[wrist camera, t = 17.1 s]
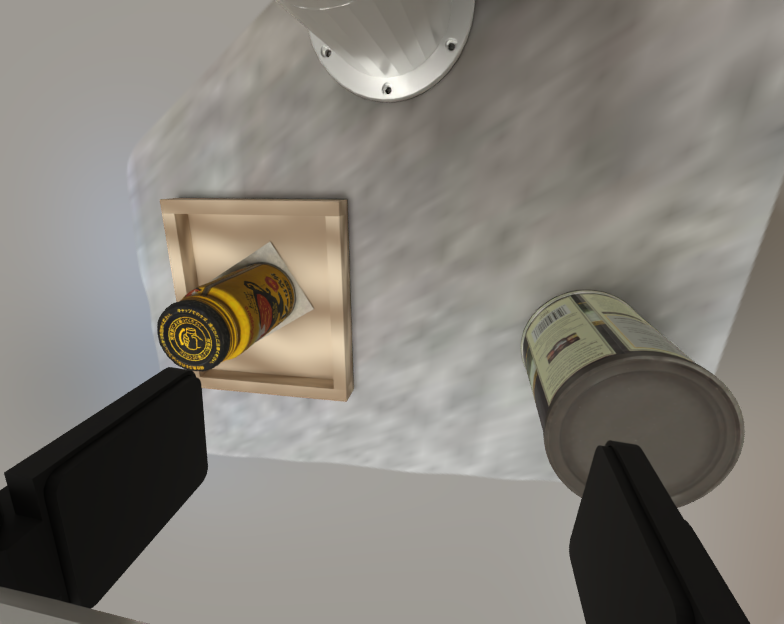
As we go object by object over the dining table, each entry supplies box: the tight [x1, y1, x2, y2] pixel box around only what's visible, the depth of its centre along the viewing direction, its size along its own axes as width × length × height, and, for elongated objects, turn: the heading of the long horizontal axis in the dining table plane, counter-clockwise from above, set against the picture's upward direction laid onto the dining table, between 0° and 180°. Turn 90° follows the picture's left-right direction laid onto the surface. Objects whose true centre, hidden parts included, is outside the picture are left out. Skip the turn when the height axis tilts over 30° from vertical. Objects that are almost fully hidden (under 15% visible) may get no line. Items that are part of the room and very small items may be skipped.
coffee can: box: [521, 290, 744, 508], centre depth 31 cm, size 10×10×14 cm
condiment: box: [157, 242, 313, 372], centre depth 35 cm, size 7×8×12 cm
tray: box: [160, 198, 354, 402], centre depth 40 cm, size 18×16×2 cm
